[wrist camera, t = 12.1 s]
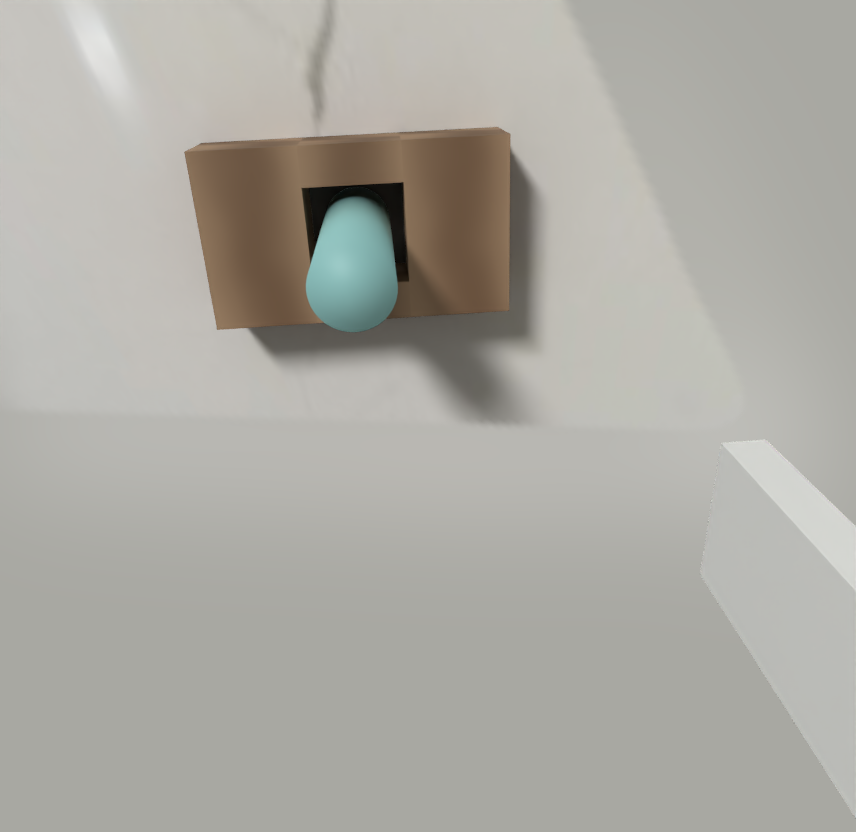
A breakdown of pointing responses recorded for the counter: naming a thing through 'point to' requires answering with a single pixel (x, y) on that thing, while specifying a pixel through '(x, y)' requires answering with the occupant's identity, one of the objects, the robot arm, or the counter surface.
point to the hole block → (353, 165)
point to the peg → (353, 263)
